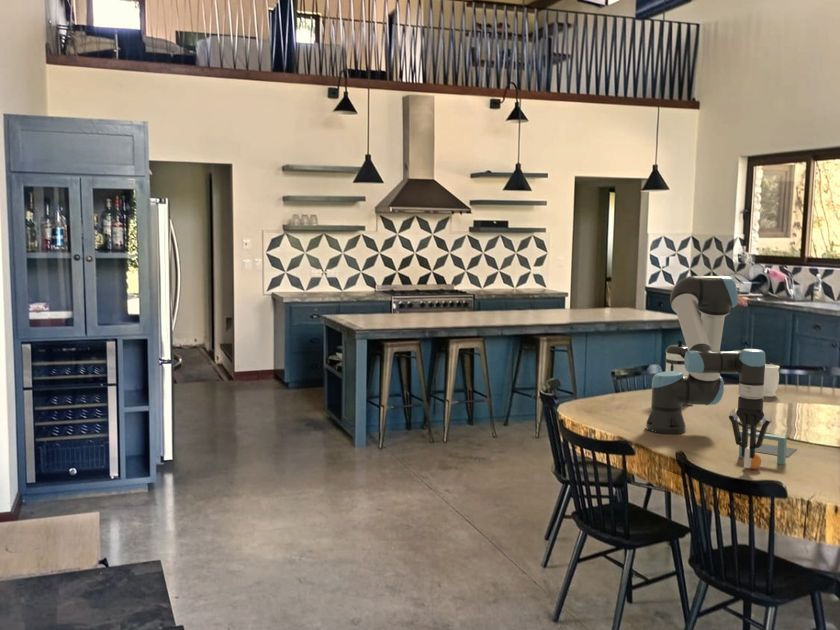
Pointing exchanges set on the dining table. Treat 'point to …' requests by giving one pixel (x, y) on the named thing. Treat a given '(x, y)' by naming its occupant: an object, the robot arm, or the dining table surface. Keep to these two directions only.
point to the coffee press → (676, 358)
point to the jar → (771, 380)
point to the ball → (755, 462)
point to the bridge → (781, 446)
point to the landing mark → (773, 450)
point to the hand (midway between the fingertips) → (747, 467)
